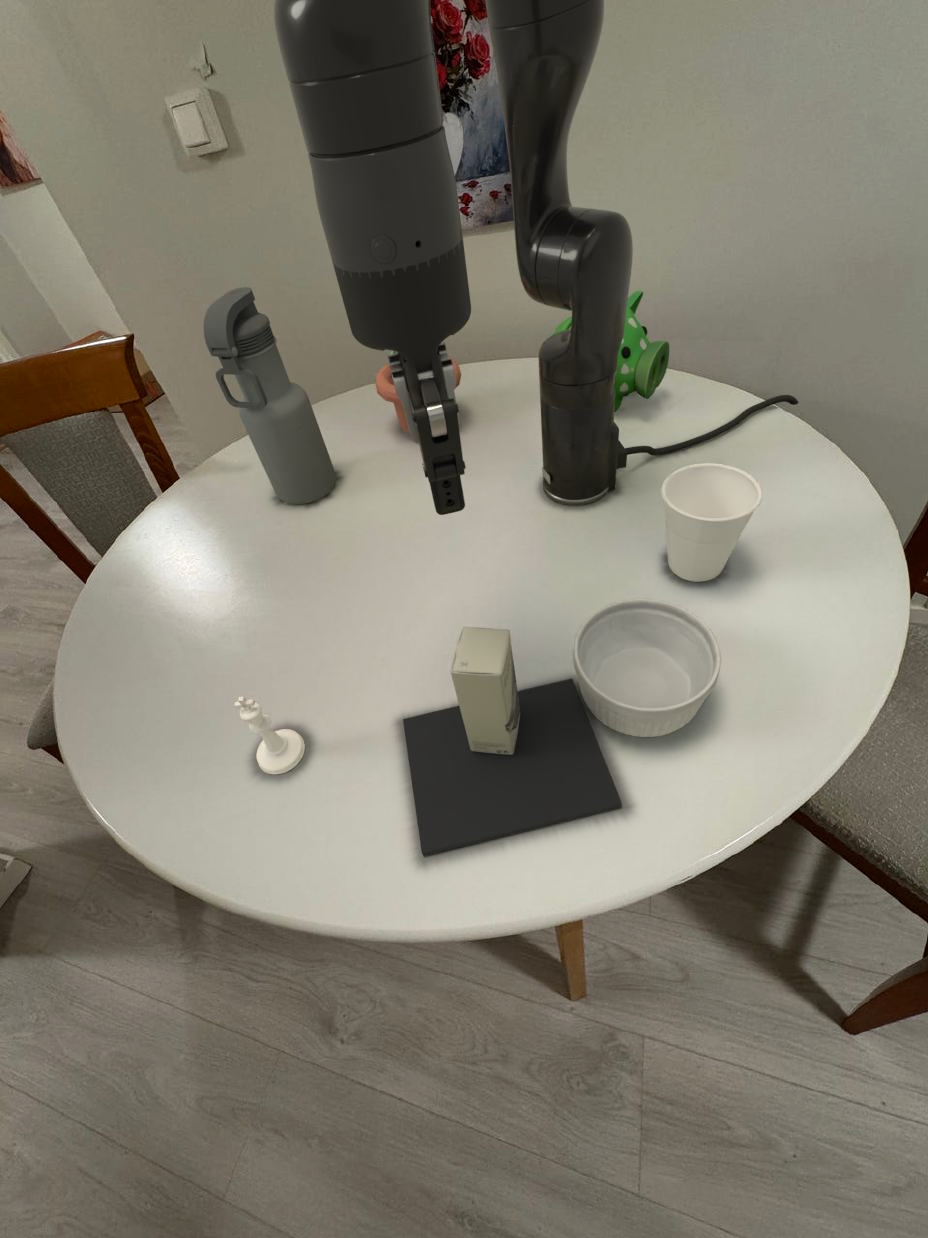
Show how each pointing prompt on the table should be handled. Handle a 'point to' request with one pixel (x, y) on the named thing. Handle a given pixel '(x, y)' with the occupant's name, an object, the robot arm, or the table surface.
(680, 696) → the ramekin
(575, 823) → the table surface
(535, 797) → the mat
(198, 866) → the table surface
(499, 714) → the box
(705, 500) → the cup
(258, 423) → the water bottle
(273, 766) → the chess piece
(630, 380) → the piggy bank
